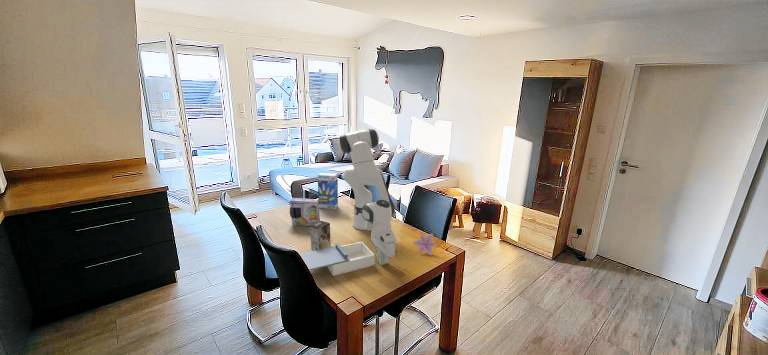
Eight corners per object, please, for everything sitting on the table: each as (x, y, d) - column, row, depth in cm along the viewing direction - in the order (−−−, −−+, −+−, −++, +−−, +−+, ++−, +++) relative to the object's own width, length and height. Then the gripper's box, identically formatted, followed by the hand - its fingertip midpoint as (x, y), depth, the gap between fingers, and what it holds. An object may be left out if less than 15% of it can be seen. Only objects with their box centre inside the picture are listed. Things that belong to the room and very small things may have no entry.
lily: (409, 250, 177) (411, 241, 170) (421, 237, 184) (423, 227, 177) (427, 263, 172) (430, 253, 165) (439, 248, 179) (441, 239, 172)
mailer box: (361, 251, 173) (361, 241, 172) (374, 265, 160) (374, 254, 158) (323, 260, 164) (322, 250, 162) (333, 276, 150) (332, 265, 148)
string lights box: (318, 208, 234) (317, 174, 227) (321, 204, 242) (320, 172, 235) (335, 209, 232) (334, 175, 225) (338, 205, 240) (337, 173, 233)
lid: (338, 246, 166) (338, 241, 165) (349, 260, 152) (349, 255, 151) (296, 255, 156) (296, 250, 155) (304, 271, 142) (304, 266, 141)
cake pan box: (290, 224, 205) (288, 199, 200) (293, 221, 210) (291, 196, 205) (317, 227, 202) (316, 201, 197) (320, 224, 206) (319, 199, 202)
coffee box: (322, 246, 178) (321, 220, 174) (331, 249, 175) (330, 222, 171) (310, 252, 171) (309, 225, 166) (319, 256, 168) (318, 228, 163)
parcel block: (383, 259, 166) (384, 245, 163) (387, 263, 162) (387, 249, 160) (377, 261, 164) (377, 247, 162) (380, 265, 160) (380, 251, 158)
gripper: (368, 225, 166) (367, 248, 169) (386, 241, 148) (385, 267, 152) (378, 223, 169) (378, 246, 172) (397, 239, 151) (396, 264, 155)
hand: (381, 256), depth 162 cm, fingers open, 8 cm apart
